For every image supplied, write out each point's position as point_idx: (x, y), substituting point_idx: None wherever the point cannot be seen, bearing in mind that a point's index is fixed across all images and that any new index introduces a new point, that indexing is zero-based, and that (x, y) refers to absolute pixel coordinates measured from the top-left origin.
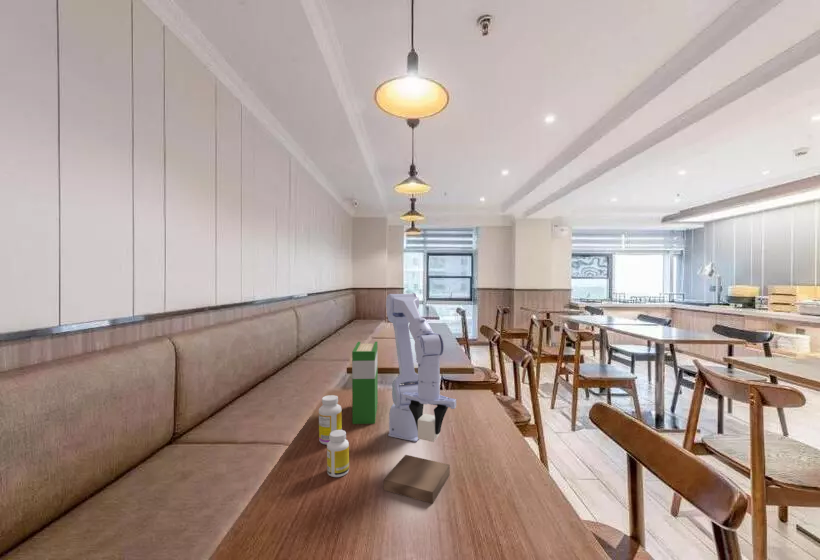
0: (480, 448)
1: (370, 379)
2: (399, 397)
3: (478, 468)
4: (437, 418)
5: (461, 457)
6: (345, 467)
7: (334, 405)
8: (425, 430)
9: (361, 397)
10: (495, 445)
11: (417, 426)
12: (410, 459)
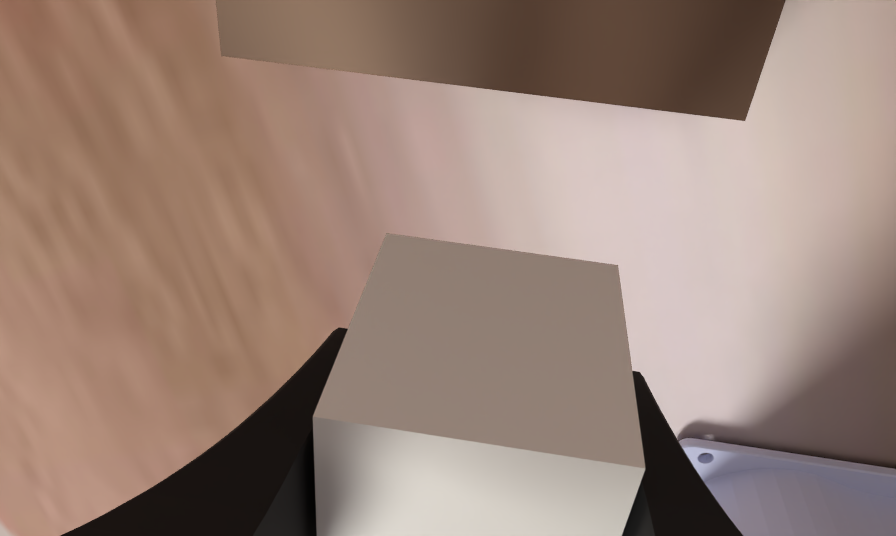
0: (187, 434)
1: None
2: None
3: (89, 192)
4: (223, 488)
5: (265, 306)
6: None
7: None
8: (494, 330)
9: None
10: (116, 479)
11: (645, 407)
12: (665, 33)
